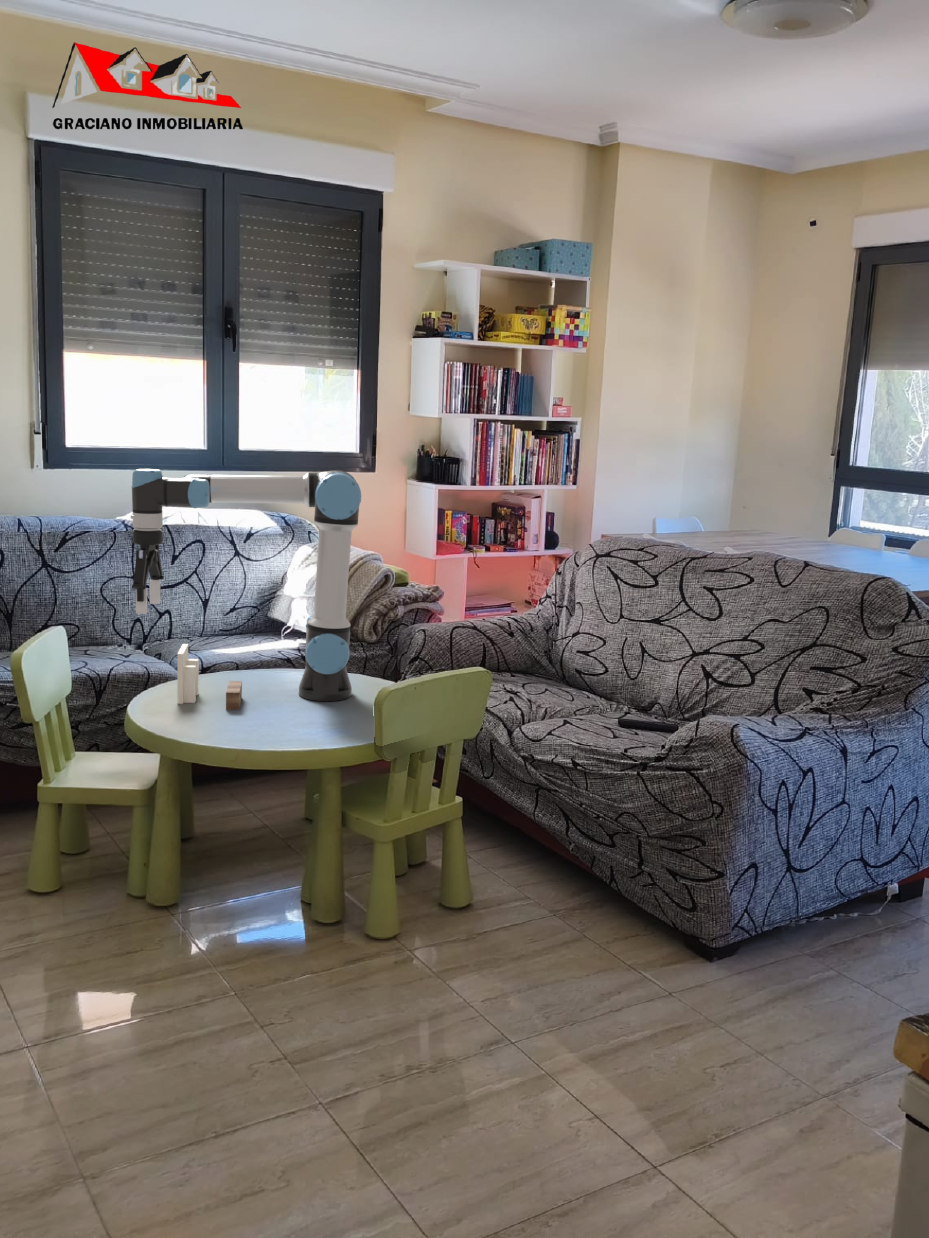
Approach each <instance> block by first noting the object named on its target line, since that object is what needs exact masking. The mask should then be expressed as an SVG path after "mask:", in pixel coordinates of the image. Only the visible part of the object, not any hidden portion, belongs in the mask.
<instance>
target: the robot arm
mask: <svg viewBox="0 0 929 1238" xmlns="http://www.w3.org/2000/svg"><path fill="white" fill-rule="evenodd" d="M356 480H357V479H355V478H354V477H353V475H351V474H350V473H349V472H347V471H344V470H338V469H335V470H328V471H318V472H315V471H314V472H311V471H310V472H309V471H308V472H307V473H306V474H304V475H248V474H247V475H246V474H245V475H240V474H239V475H237V474H236V475H235V474H233V475H231V474H230V475H229V474H211V475H210V474H208V475H207V474H197V473H188V474H186V475H184V476H183V477H181V478H180V477H179V478H178V477H176V478H175V477H174V478H173V477H164V476H163V472H162V470H161V469H156V468H155V469H154V468H138V469H134V471H133V472H132V481H131V482H132V483H131V501H132V504H131V506H132V507H131V508H132V509H131V510H132V514H131V515H130V519H131V520H132V527H133V528H134V529H133V530H132V543H133V544H135V545H139V549H136V551H135V564H134V565H135V566H134V572H133V573H134V574H133V582H132V585H131V589H132V590H135V614H137V615H140V614H141V615H146V614H148V589H147V582H148V577H149V578H150V579H149V604H150V605H161V580H164V578H165V577H164V574H163V568H162V563H161V562H162V560H161V553H160V545H161V544H163V530H162V529H161V528H163V526H164V524H163V523H164V522H163V507H168V508H169V507H173V508H175V507H176V508H190V509H191V508H193V509H197V508H199V509H200V508H204V509H205V508H207V507H209V506H210V504H212V503H214V504H215V503H219V504H220V503H224V504H232V503H233V504H302V505H303V504H304V505H305V506H306V507H307V508H314V519H313V520H314V523H315V525H317V527H318V528H319V529H318V542H317V543H318V547H317V559H316V560H317V561H316V574H315V575H316V576H315V590H314V605H313V606H314V607H313V615H312V616H308V617H307V619H306V625H305V628H306V634H305V635H306V636H305V649H304V657H305V668H304V671H303V674H302V677H301V680H300V683H299V685H298V695H299V697H301V698H303V699H306V700H309V701H317V702H336V701H337V702H338V701H342V700H347V699H349V698H351V697H352V693H353V691H352V690H353V688H352V684H351V680H350V677H349V674H348V670H347V663H348V661H349V660H350V654H351V651H350V638H351V637H350V636H351V622H349V620H348V619H347V616H346V615H347V603H348V602H347V601H348V589H349V588H348V587H349V586H348V585H349V572H350V562H351V561H350V560H351V559H350V558H351V546H352V545H351V543H352V531H353V530H354V529H355V528H356V527H357V526H358V525H359V513H360V505H361V503H362V491H361V488H360V485H359V483H358V482H357V481H356Z"/></svg>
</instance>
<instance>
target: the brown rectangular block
mask: <svg viewBox="0 0 929 1238" xmlns="http://www.w3.org/2000/svg"><path fill="white" fill-rule="evenodd" d="M242 690H243V681H242V680H235V681H234V680H229V681H228V684H227V688H226V691H225V710H226V711H228V710H229V711H239V710H240V708H241V707H240V706H241V703H242V699H243V691H242Z"/></svg>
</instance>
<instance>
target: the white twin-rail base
mask: <svg viewBox="0 0 929 1238" xmlns="http://www.w3.org/2000/svg"><path fill="white" fill-rule="evenodd" d="M199 663H200V662H199V658H189V643H182V645H181V646H180V648H179V650H178V651H177V704H178V705H183V704H184V703H185V704H186V703H188V704H190V703H191V704H195V703H196V701H197V700H196V699H197V698H196V697H197V696H198V695H199V690H200V689H199V684H200V683H199V681H200V679H199V675H200V673H199V670H200V669H199V667H200V666H199V665H200V664H199Z"/></svg>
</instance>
